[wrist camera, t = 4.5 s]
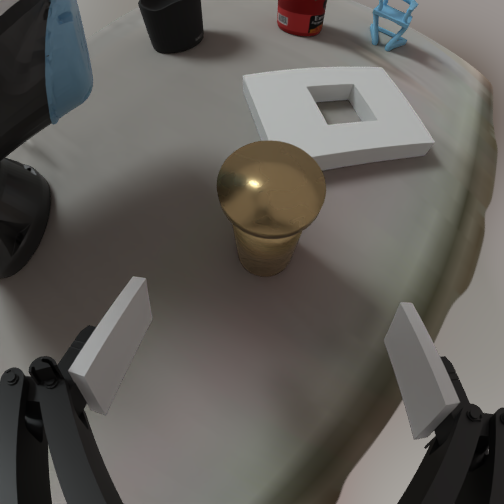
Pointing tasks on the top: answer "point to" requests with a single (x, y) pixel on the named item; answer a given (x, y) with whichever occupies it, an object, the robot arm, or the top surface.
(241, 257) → the brass ball knob
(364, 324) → the top surface
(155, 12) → the pen holder
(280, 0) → the canned food
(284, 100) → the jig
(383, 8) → the chair
